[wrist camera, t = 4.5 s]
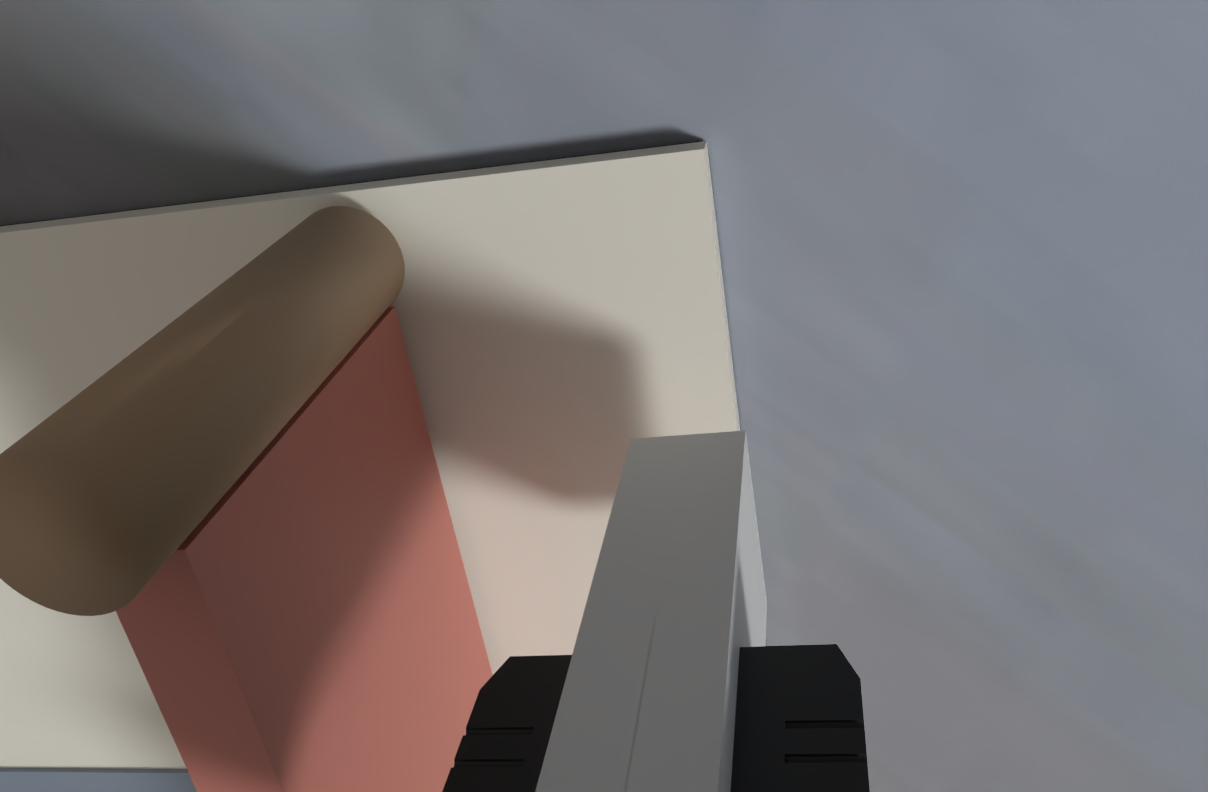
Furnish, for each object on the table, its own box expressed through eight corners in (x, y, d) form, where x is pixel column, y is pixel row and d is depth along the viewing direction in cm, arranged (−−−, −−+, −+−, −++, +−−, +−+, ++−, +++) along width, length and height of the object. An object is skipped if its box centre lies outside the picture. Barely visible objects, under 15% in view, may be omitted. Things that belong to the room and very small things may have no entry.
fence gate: (278, 212, 14) (-70, 461, 9) (388, 200, 14) (103, 449, 8) (450, 775, 19) (299, 1184, 13) (535, 776, 19) (419, 1196, 13)
